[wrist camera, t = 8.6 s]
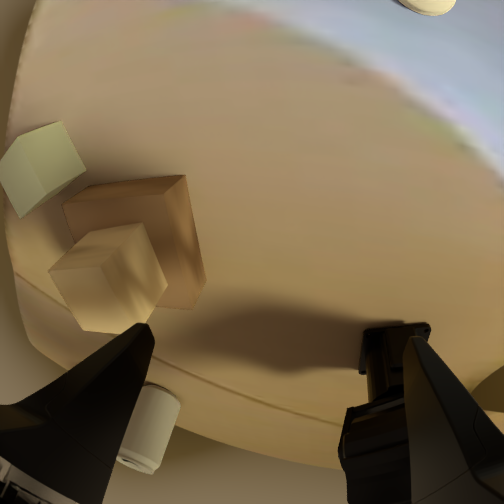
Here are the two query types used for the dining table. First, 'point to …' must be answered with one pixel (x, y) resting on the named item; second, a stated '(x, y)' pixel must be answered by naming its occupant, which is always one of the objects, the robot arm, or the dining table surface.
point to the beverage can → (149, 429)
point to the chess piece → (429, 6)
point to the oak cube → (110, 278)
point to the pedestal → (148, 228)
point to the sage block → (39, 167)
